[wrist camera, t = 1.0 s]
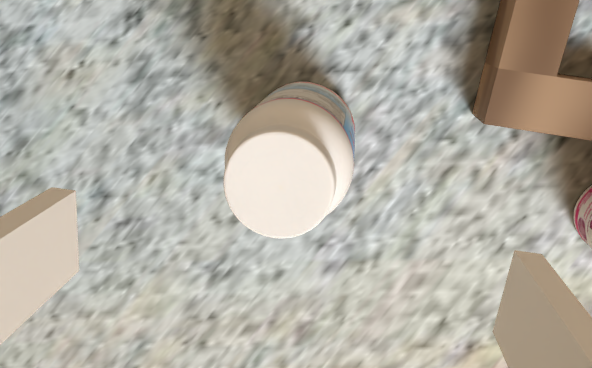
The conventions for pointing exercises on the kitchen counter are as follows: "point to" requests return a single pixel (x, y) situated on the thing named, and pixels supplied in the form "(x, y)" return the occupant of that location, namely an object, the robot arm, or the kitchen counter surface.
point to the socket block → (533, 72)
